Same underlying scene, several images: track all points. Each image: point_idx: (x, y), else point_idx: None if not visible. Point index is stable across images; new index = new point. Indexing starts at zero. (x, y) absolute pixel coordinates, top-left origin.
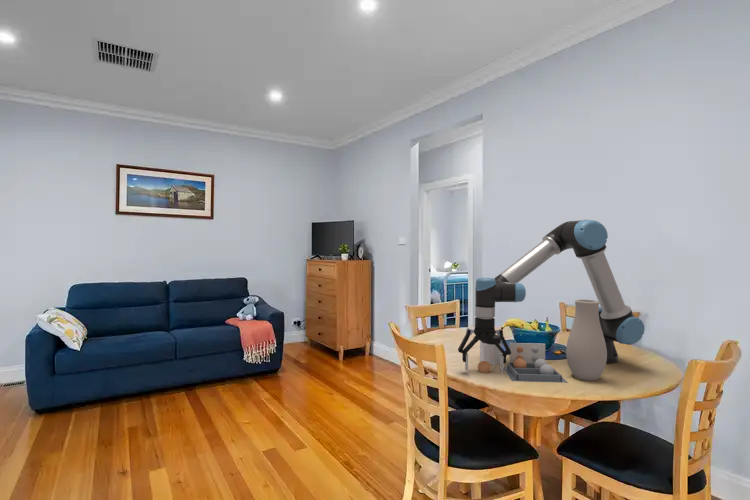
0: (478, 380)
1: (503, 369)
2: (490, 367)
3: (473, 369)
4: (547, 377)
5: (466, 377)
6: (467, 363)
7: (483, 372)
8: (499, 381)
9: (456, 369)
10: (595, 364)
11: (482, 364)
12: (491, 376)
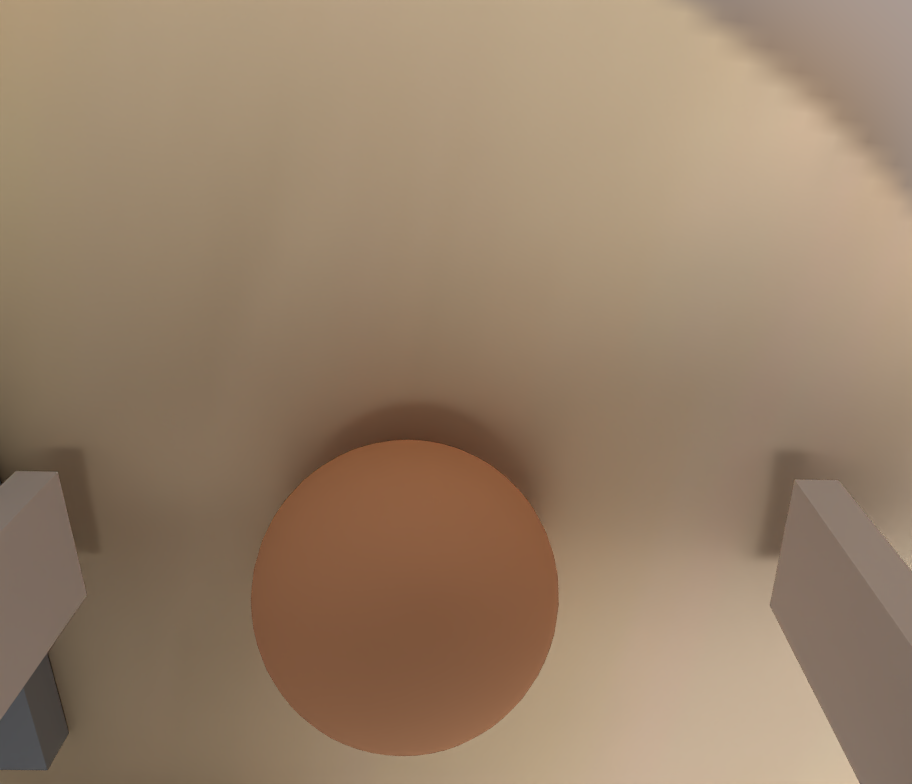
0: (646, 40)
1: None
2: (267, 538)
3: (577, 704)
4: None
5: (871, 241)
6: (889, 592)
7: (449, 446)
8: (141, 11)
9: None
10: None
11: (470, 565)
12: (292, 353)
